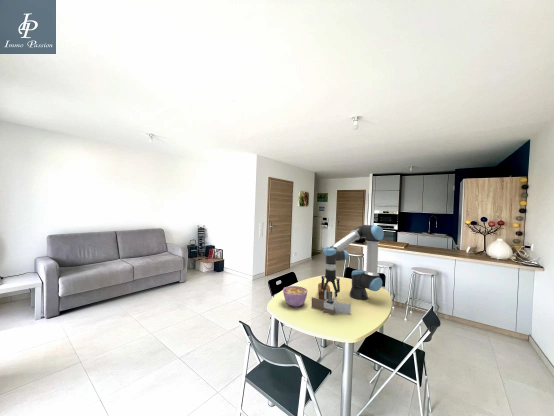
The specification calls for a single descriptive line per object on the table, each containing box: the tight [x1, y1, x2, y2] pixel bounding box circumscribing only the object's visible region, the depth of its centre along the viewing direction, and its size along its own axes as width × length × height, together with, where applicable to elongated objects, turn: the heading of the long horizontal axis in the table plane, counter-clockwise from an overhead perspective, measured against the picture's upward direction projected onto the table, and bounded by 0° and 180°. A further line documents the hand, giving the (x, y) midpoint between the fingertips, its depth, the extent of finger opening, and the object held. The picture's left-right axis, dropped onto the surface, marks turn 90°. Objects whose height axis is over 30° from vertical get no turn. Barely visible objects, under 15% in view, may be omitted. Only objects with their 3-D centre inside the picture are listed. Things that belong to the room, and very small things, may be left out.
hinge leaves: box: [311, 297, 352, 316], centre depth 162 cm, size 9×29×8 cm, turn 58°
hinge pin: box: [328, 290, 333, 304], centre depth 161 cm, size 3×3×15 cm
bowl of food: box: [282, 285, 309, 308], centre depth 174 cm, size 20×20×12 cm
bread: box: [317, 282, 331, 300], centre depth 192 cm, size 19×11×10 cm, turn 170°
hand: (330, 299), depth 162 cm, fingers open, 7 cm apart
